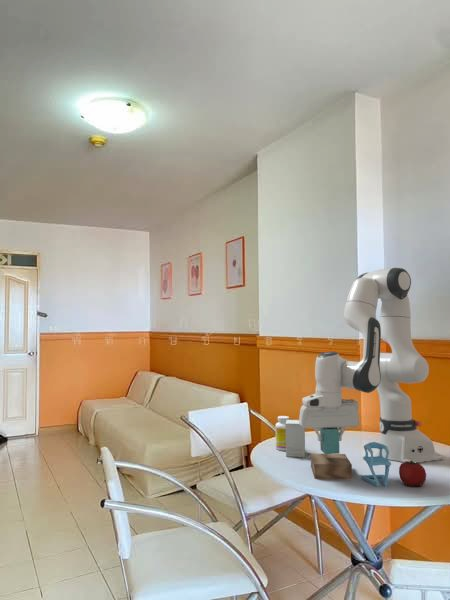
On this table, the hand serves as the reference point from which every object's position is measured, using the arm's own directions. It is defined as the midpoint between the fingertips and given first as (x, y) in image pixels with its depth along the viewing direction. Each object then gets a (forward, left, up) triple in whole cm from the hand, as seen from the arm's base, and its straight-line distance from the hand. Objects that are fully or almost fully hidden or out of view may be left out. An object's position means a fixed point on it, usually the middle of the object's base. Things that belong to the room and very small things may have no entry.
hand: (329, 440), depth 146 cm
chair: (-12, +10, -11) cm, 19 cm away
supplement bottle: (+10, -30, -11) cm, 33 cm away
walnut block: (0, 0, -11) cm, 11 cm away
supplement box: (+7, -22, -11) cm, 26 cm away
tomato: (-22, +13, -11) cm, 28 cm away
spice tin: (0, 0, -4) cm, 4 cm away
